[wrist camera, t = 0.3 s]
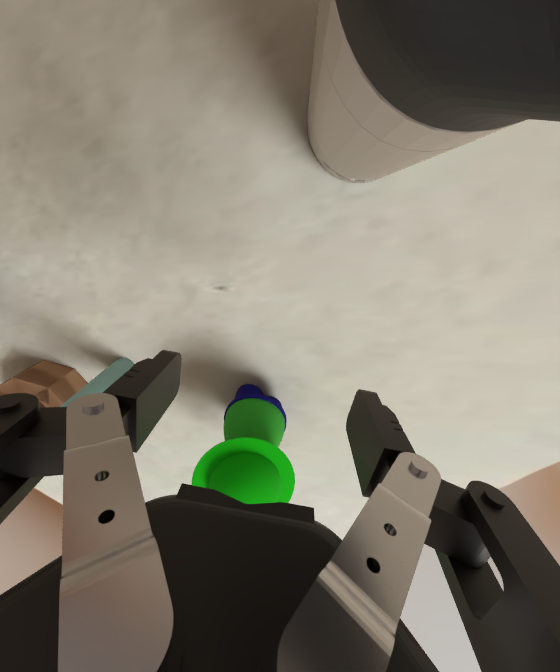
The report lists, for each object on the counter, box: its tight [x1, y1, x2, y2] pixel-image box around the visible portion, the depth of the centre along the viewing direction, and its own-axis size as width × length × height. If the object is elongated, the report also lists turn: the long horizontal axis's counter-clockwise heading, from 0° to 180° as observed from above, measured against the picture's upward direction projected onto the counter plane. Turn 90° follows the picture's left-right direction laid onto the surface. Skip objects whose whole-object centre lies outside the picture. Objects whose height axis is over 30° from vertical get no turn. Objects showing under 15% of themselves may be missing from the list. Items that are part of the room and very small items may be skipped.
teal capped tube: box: [60, 358, 134, 407], centre depth 27 cm, size 3×3×14 cm
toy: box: [192, 384, 295, 504], centre depth 28 cm, size 9×9×15 cm
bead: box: [0, 360, 88, 407], centre depth 34 cm, size 9×9×4 cm
